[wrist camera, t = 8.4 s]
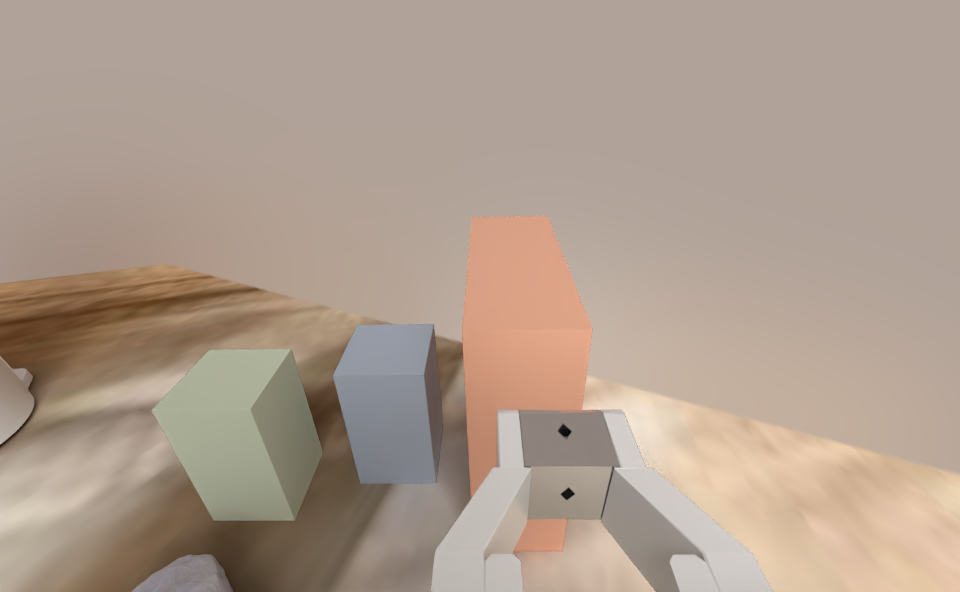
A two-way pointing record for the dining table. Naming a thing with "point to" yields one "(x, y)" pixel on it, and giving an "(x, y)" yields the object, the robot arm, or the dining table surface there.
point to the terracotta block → (520, 342)
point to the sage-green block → (244, 433)
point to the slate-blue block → (392, 403)
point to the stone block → (188, 576)
